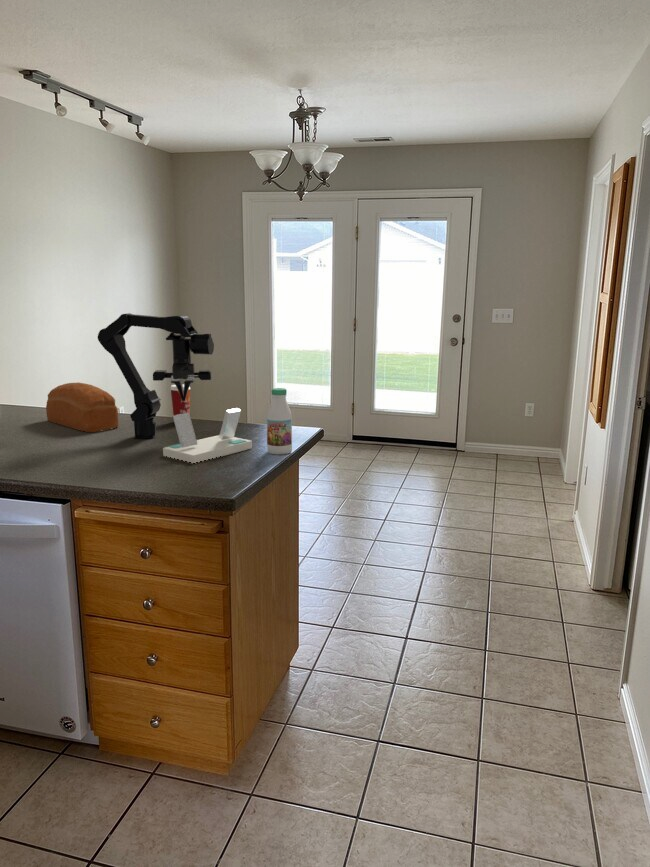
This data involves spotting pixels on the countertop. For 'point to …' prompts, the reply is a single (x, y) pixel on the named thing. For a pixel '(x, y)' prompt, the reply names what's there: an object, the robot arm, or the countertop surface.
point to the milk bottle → (279, 424)
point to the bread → (82, 407)
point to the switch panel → (207, 449)
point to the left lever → (185, 430)
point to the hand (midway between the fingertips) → (183, 400)
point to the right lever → (229, 423)
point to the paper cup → (180, 401)
